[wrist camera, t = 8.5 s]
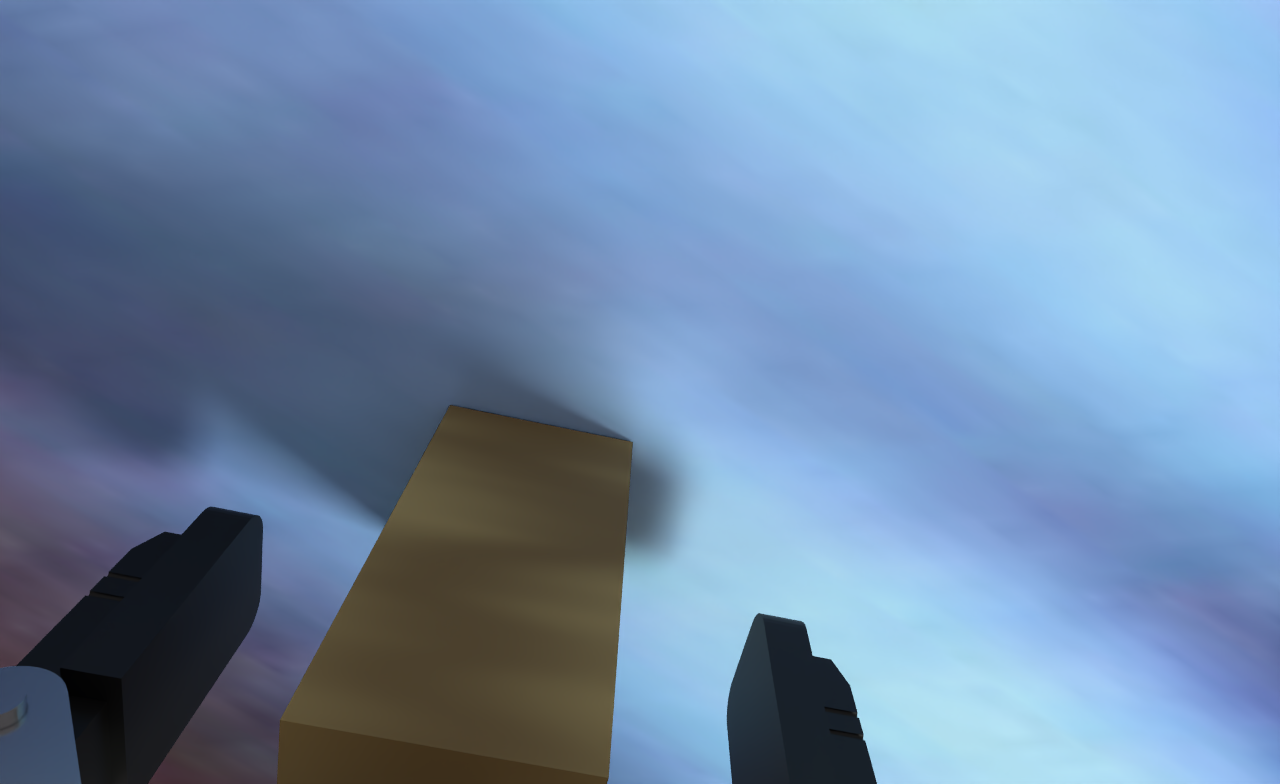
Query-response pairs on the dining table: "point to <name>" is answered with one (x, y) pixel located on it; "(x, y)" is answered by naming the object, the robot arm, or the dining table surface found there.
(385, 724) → the tethered block
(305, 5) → the dining table surface
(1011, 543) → the dining table surface
